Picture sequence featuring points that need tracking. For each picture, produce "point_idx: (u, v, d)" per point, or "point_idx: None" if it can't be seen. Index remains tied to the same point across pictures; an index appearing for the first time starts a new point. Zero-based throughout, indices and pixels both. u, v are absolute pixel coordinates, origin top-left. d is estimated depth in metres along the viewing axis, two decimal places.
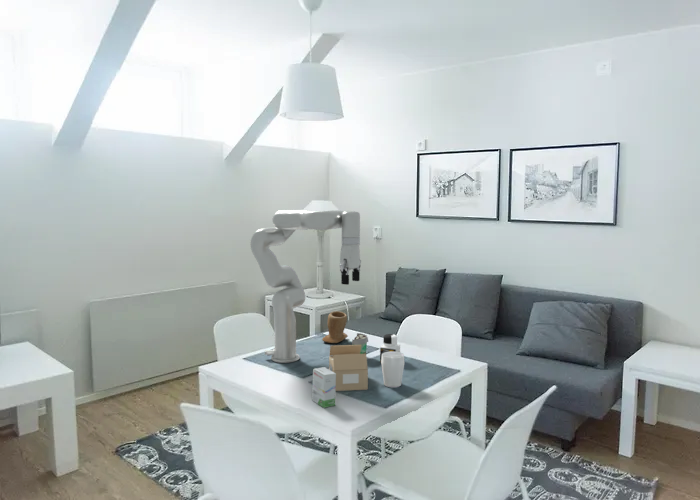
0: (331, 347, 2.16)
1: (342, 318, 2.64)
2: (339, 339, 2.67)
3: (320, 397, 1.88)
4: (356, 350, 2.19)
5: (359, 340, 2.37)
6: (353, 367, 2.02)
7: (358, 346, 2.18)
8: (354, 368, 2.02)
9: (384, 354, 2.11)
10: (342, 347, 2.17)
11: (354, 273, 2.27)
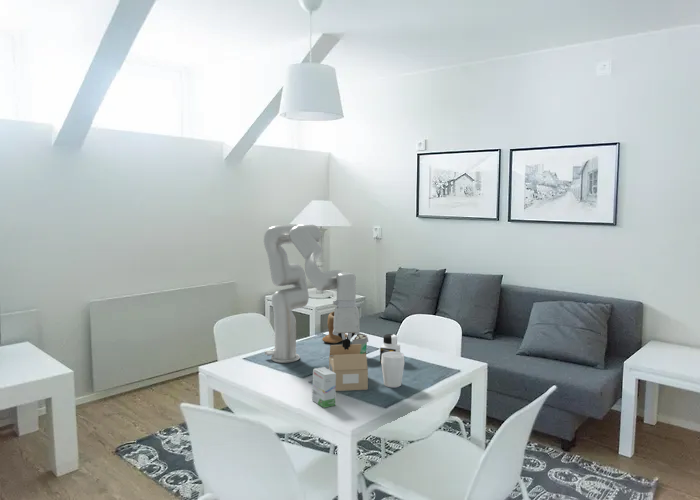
0: (331, 346, 2.17)
1: None
2: (339, 339, 2.67)
3: (320, 397, 1.88)
4: (356, 350, 2.19)
5: (359, 340, 2.37)
6: (353, 367, 2.02)
7: (358, 346, 2.18)
8: (354, 368, 2.02)
9: (384, 354, 2.11)
10: (342, 347, 2.17)
11: (346, 341, 2.15)
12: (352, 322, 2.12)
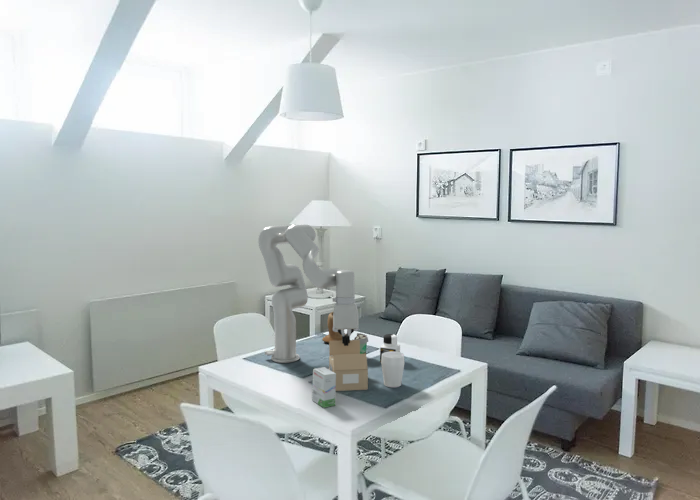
0: (330, 342, 2.20)
1: None
2: (339, 339, 2.67)
3: (320, 397, 1.88)
4: (355, 348, 2.21)
5: None
6: (353, 367, 2.02)
7: (356, 342, 2.22)
8: (354, 368, 2.02)
9: (384, 354, 2.11)
10: (341, 343, 2.21)
11: None
12: (351, 318, 2.16)
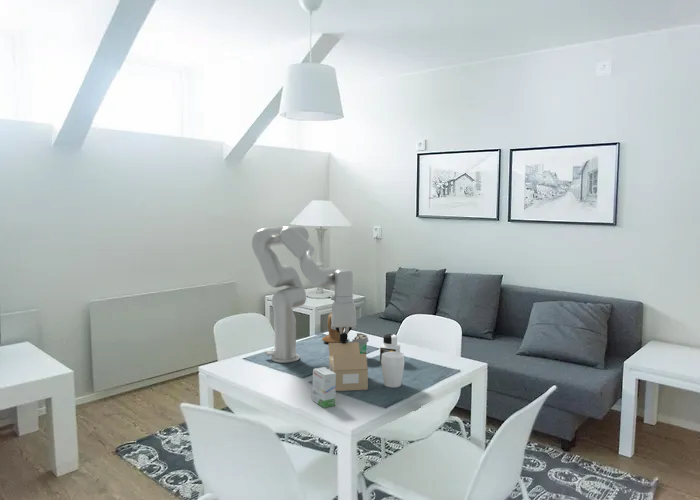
0: (329, 344, 2.23)
1: None
2: (339, 339, 2.67)
3: (320, 397, 1.88)
4: (355, 349, 2.23)
5: (359, 340, 2.37)
6: (353, 367, 2.02)
7: (355, 344, 2.25)
8: (354, 368, 2.02)
9: (384, 354, 2.11)
10: (340, 344, 2.24)
11: None
12: (349, 317, 2.21)
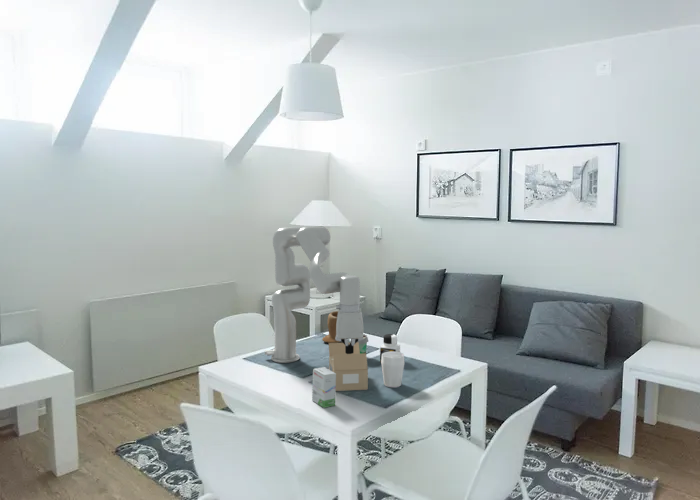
0: (329, 344, 2.23)
1: None
2: None
3: (320, 397, 1.88)
4: (355, 349, 2.23)
5: None
6: (353, 367, 2.02)
7: (355, 344, 2.25)
8: (354, 368, 2.02)
9: (384, 354, 2.11)
10: (340, 344, 2.24)
11: None
12: (356, 327, 2.03)
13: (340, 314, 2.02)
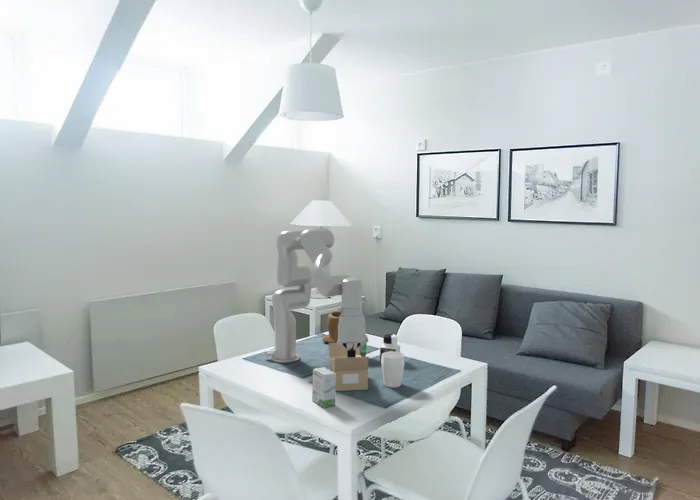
0: (329, 344, 2.23)
1: None
2: None
3: (320, 397, 1.88)
4: None
5: None
6: (353, 369, 2.02)
7: None
8: (354, 369, 2.02)
9: (384, 354, 2.11)
10: None
11: None
12: (358, 331, 1.98)
13: (342, 318, 1.97)
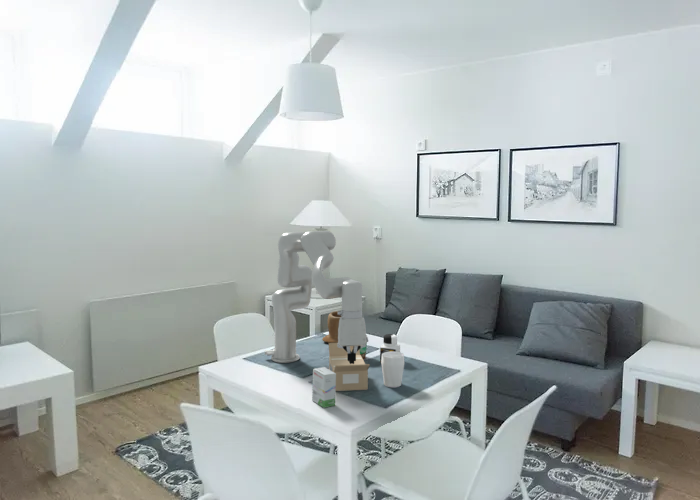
0: (329, 344, 2.23)
1: None
2: None
3: (320, 397, 1.88)
4: None
5: None
6: (353, 370, 2.01)
7: None
8: (354, 370, 2.02)
9: (384, 354, 2.11)
10: None
11: None
12: (358, 334, 1.96)
13: (342, 320, 1.95)
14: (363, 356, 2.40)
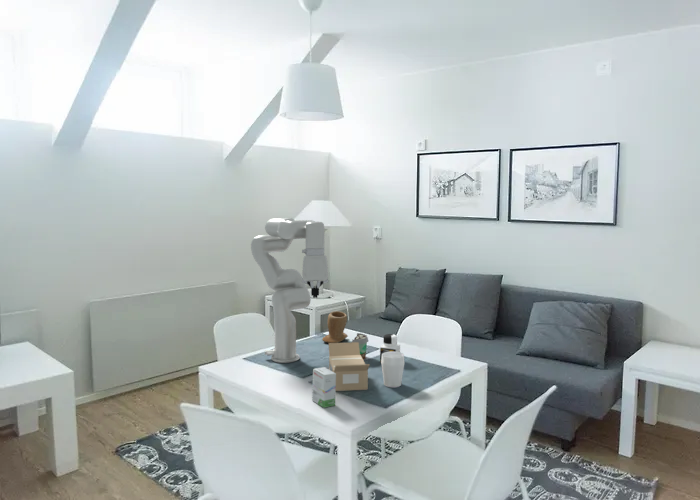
0: (329, 344, 2.23)
1: (342, 318, 2.64)
2: (339, 339, 2.67)
3: (320, 397, 1.88)
4: (355, 349, 2.23)
5: (359, 340, 2.37)
6: (353, 370, 2.01)
7: (355, 344, 2.25)
8: (354, 370, 2.02)
9: (384, 354, 2.11)
10: (340, 344, 2.24)
11: None
12: (320, 270, 2.15)
13: (305, 257, 2.14)
14: (363, 356, 2.40)
